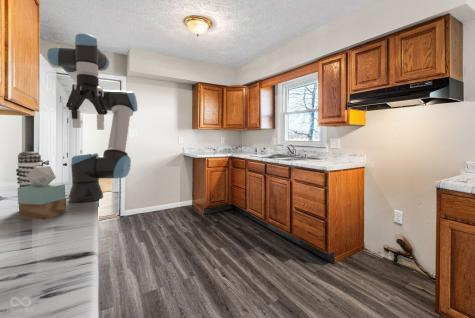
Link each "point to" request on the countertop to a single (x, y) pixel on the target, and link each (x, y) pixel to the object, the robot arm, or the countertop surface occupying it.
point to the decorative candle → (27, 166)
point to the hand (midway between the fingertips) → (89, 128)
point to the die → (41, 176)
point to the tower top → (41, 194)
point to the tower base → (42, 210)
